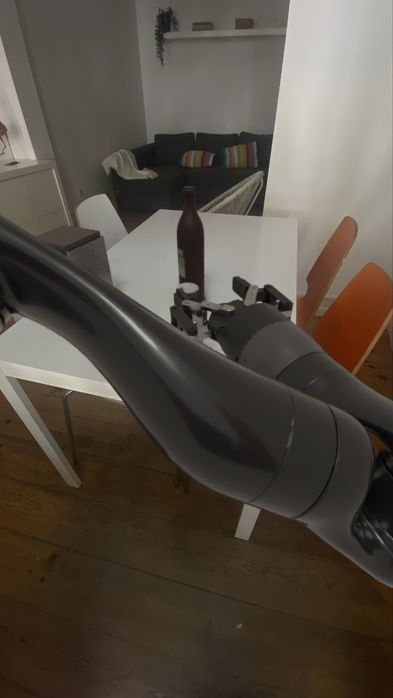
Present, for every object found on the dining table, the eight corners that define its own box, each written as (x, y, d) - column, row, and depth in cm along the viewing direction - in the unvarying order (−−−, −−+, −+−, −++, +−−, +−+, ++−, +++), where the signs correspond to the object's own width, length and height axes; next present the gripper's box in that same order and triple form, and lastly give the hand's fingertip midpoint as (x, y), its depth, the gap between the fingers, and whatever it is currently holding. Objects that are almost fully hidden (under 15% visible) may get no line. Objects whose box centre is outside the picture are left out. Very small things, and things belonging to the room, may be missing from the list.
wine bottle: (187, 293, 96) (183, 182, 77) (208, 298, 93) (209, 185, 75) (175, 303, 91) (168, 188, 72) (197, 309, 88) (195, 191, 70)
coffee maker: (130, 305, 91) (118, 233, 78) (102, 326, 82) (84, 250, 70) (82, 292, 97) (64, 224, 85) (52, 310, 89) (27, 238, 77)
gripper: (337, 307, 32) (253, 253, 44) (209, 343, 28) (155, 272, 40) (321, 364, 37) (249, 301, 49) (209, 401, 32) (160, 322, 44)
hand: (207, 288), depth 44 cm, fingers open, 8 cm apart
